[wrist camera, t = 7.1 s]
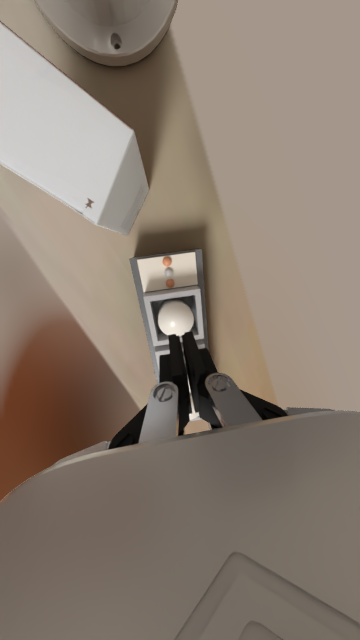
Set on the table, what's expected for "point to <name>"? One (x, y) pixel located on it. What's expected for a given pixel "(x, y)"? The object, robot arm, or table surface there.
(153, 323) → the button board
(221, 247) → the table surface
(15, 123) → the small box
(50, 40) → the table surface
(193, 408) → the button
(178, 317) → the button
